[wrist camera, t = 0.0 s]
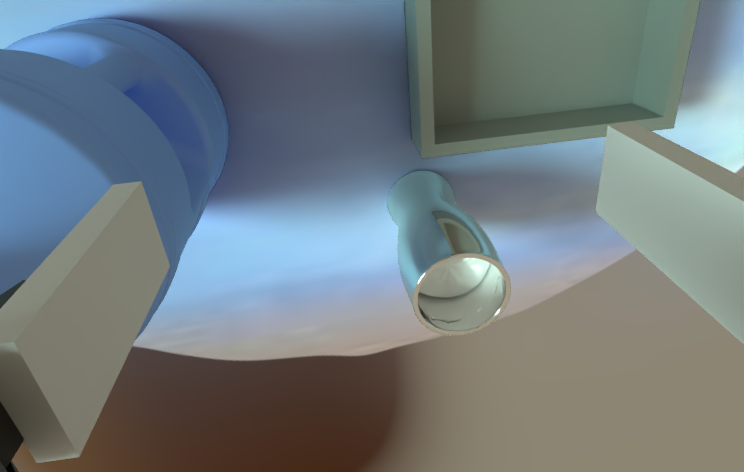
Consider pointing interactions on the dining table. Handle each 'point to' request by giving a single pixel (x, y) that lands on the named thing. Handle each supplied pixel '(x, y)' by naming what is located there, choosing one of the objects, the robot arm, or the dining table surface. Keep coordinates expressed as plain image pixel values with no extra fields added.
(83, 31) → the water jug
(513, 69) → the tote
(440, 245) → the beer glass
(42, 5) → the dining table surface
